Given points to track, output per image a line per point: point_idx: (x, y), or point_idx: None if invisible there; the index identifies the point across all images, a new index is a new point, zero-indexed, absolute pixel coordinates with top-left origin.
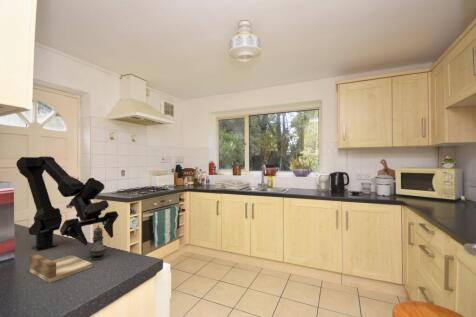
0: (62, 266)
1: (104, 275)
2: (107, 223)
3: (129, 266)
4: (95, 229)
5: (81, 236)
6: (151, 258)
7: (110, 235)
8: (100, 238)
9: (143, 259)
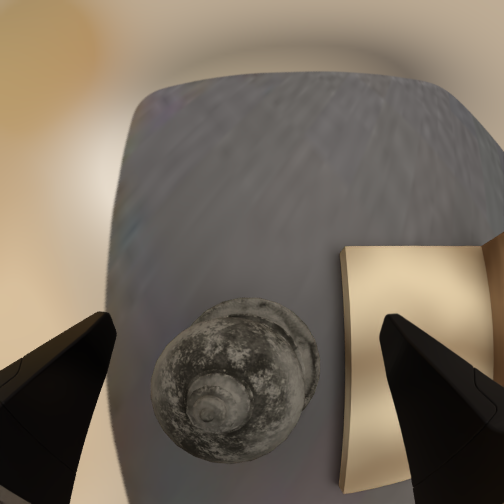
0: (448, 346)
1: (339, 133)
2: (7, 458)
3: (232, 122)
4: (286, 394)
5: (466, 363)
6: (135, 123)
7: (104, 346)
8: (241, 317)
9: (153, 135)
